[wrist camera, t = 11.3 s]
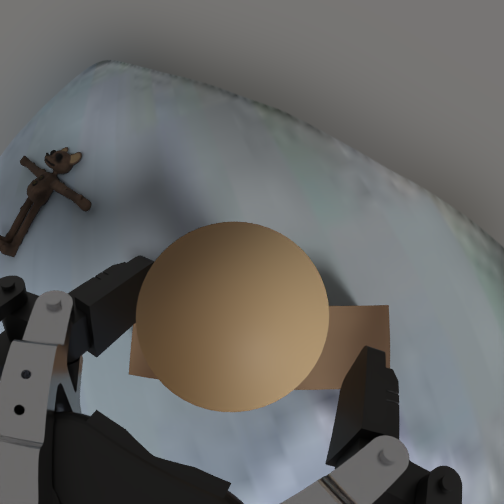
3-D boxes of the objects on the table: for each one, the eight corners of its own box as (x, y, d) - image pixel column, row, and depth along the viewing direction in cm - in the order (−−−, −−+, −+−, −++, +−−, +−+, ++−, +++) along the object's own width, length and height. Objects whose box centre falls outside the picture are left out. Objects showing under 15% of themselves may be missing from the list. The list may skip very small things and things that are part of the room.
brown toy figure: (-26, 215, 27) (31, 122, 29) (-6, 225, 31) (48, 138, 33) (25, 288, 22) (104, 155, 25) (53, 296, 26) (124, 177, 29)
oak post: (293, 316, 18) (326, 223, 7) (291, 383, 16) (326, 414, 5) (226, 314, 18) (150, 222, 7) (222, 380, 17) (128, 397, 5)
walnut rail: (366, 318, 22) (388, 305, 17) (366, 382, 20) (389, 385, 16) (162, 312, 23) (136, 298, 19) (157, 374, 22) (128, 374, 17)
